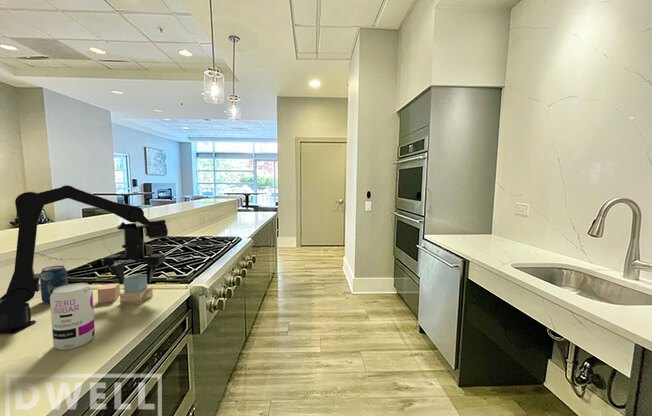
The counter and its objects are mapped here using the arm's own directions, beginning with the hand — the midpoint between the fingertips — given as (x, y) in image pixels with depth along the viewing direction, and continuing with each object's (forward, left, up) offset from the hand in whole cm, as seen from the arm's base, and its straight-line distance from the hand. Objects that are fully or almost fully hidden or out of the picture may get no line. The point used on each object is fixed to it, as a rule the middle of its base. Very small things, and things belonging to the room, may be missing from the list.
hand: (136, 282), depth 101 cm
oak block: (0, 0, -7) cm, 7 cm away
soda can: (+2, +28, -6) cm, 29 cm away
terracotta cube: (+1, +10, -6) cm, 12 cm away
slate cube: (0, 0, -3) cm, 3 cm away
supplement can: (-27, 0, -6) cm, 28 cm away
